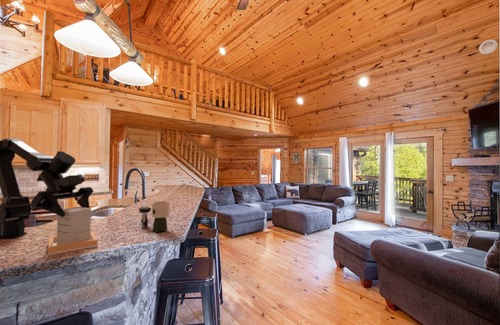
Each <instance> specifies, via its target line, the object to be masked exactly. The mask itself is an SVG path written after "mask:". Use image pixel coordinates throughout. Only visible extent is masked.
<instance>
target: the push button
mask: <svg viewBox="0 0 500 325" xmlns="http://www.w3.org/2000/svg"><path fill="white" fill-rule="evenodd" d="M151 210H152V207H150V205H142V206H140V207H139V208H138V212H139V213H140V214H142V218H141V219H140V223H141V229H147V227H149V223H148V222H149V219H148V215H147V214H149V213H150V212H151Z"/></svg>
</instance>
